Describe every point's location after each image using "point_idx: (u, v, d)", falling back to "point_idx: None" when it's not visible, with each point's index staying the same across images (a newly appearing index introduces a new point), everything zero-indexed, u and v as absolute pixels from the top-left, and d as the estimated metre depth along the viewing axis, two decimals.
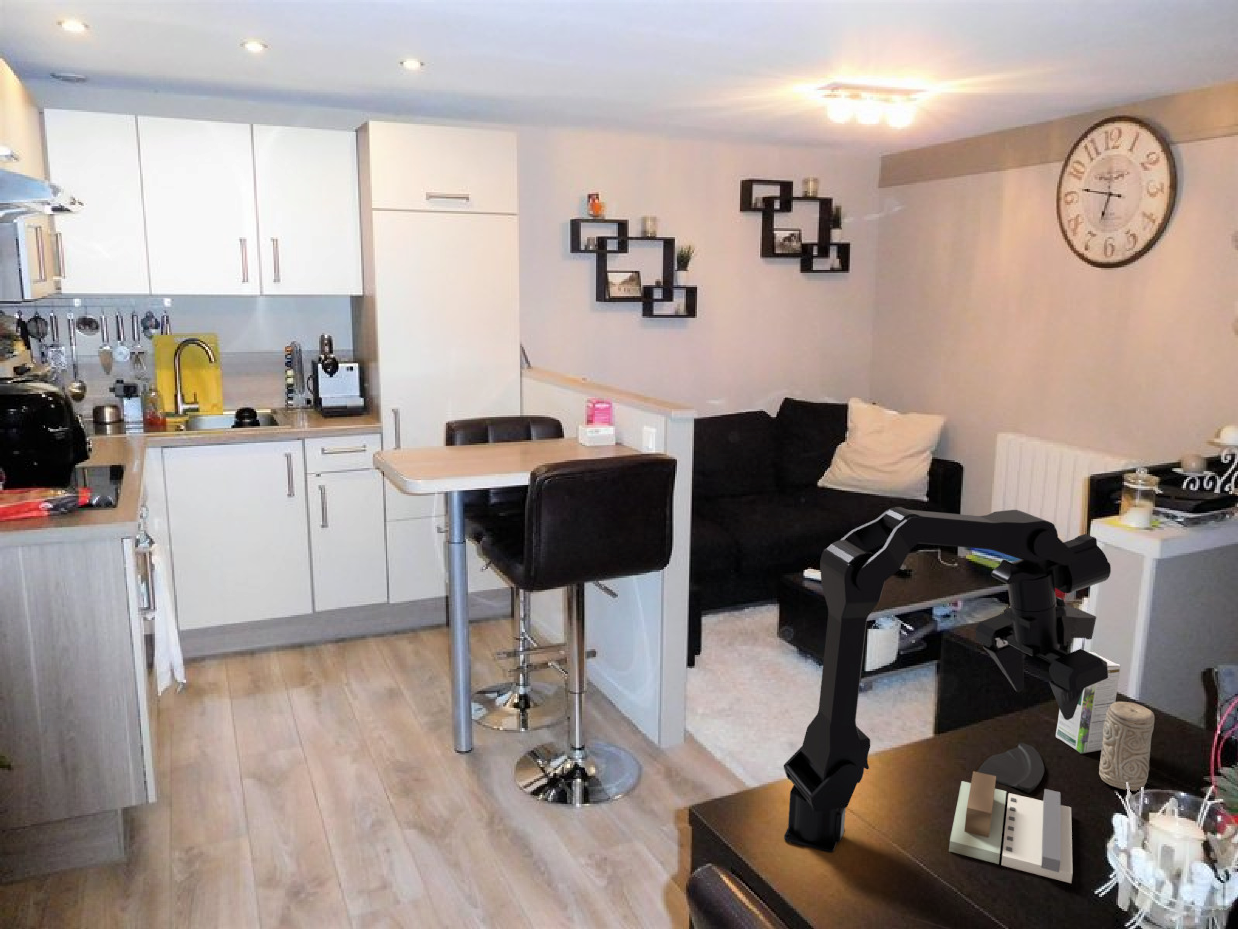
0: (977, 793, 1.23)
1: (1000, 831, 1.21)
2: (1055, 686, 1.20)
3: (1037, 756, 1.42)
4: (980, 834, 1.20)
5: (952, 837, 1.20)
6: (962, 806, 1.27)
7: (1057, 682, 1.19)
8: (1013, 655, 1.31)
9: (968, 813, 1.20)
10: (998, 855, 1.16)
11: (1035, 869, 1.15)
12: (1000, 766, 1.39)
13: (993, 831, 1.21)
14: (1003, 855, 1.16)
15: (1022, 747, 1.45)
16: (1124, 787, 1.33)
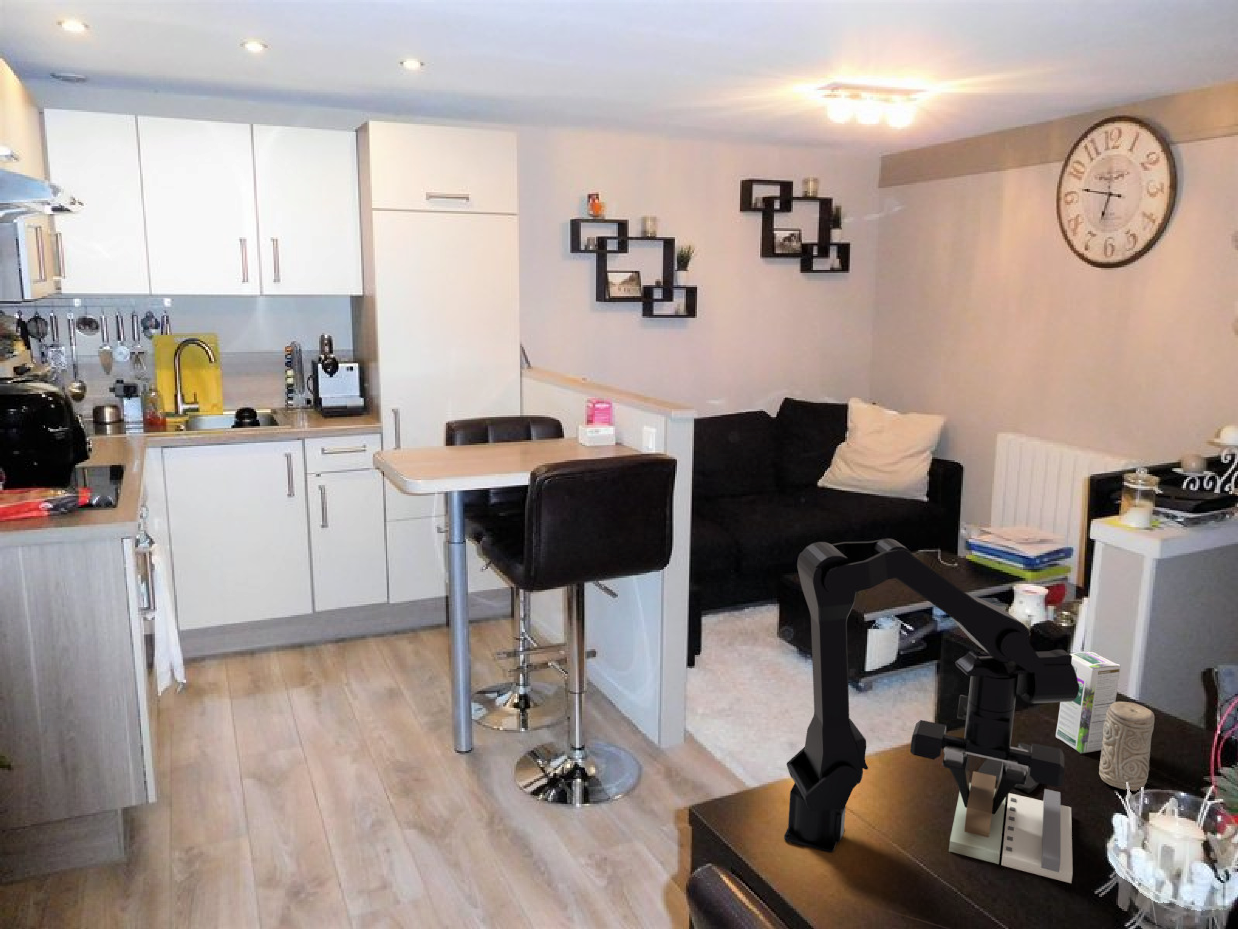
0: (977, 793, 1.23)
1: (1000, 831, 1.21)
2: (1009, 780, 1.19)
3: None
4: (980, 834, 1.20)
5: (952, 837, 1.20)
6: (962, 806, 1.27)
7: (1040, 781, 1.17)
8: (967, 769, 1.24)
9: (968, 813, 1.20)
10: (998, 855, 1.16)
11: (1035, 869, 1.15)
12: (1000, 766, 1.39)
13: (993, 831, 1.21)
14: (1003, 855, 1.16)
15: (1022, 747, 1.45)
16: (1124, 787, 1.33)
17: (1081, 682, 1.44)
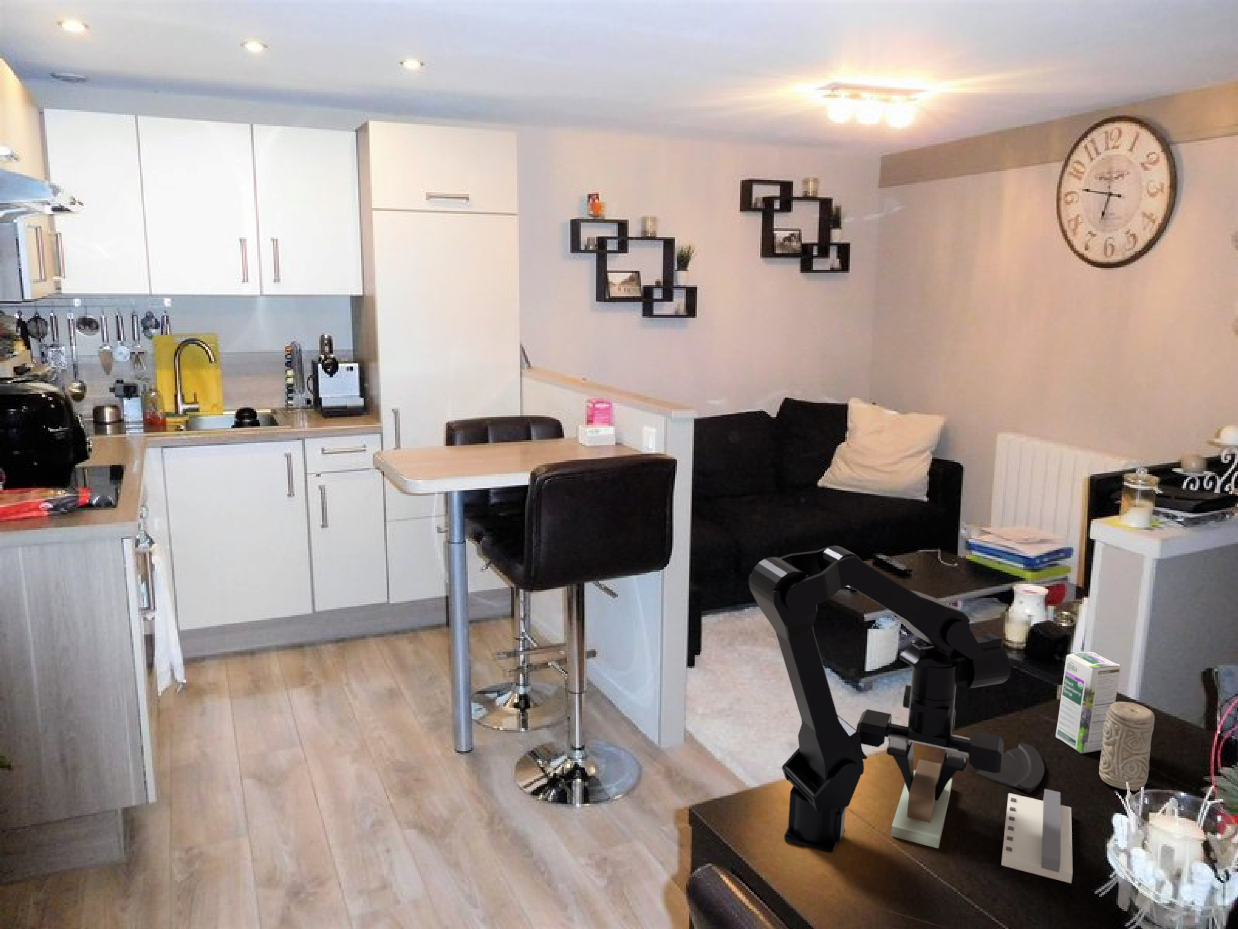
0: (920, 780, 1.26)
1: (942, 817, 1.24)
2: (950, 767, 1.22)
3: (1037, 756, 1.42)
4: (921, 819, 1.23)
5: (894, 822, 1.23)
6: (907, 793, 1.30)
7: (978, 767, 1.20)
8: (911, 756, 1.27)
9: (910, 799, 1.23)
10: (938, 839, 1.19)
11: (1035, 869, 1.15)
12: (1001, 767, 1.39)
13: (935, 816, 1.24)
14: (1003, 855, 1.16)
15: (1022, 747, 1.45)
16: (1124, 787, 1.33)
17: (1081, 682, 1.44)
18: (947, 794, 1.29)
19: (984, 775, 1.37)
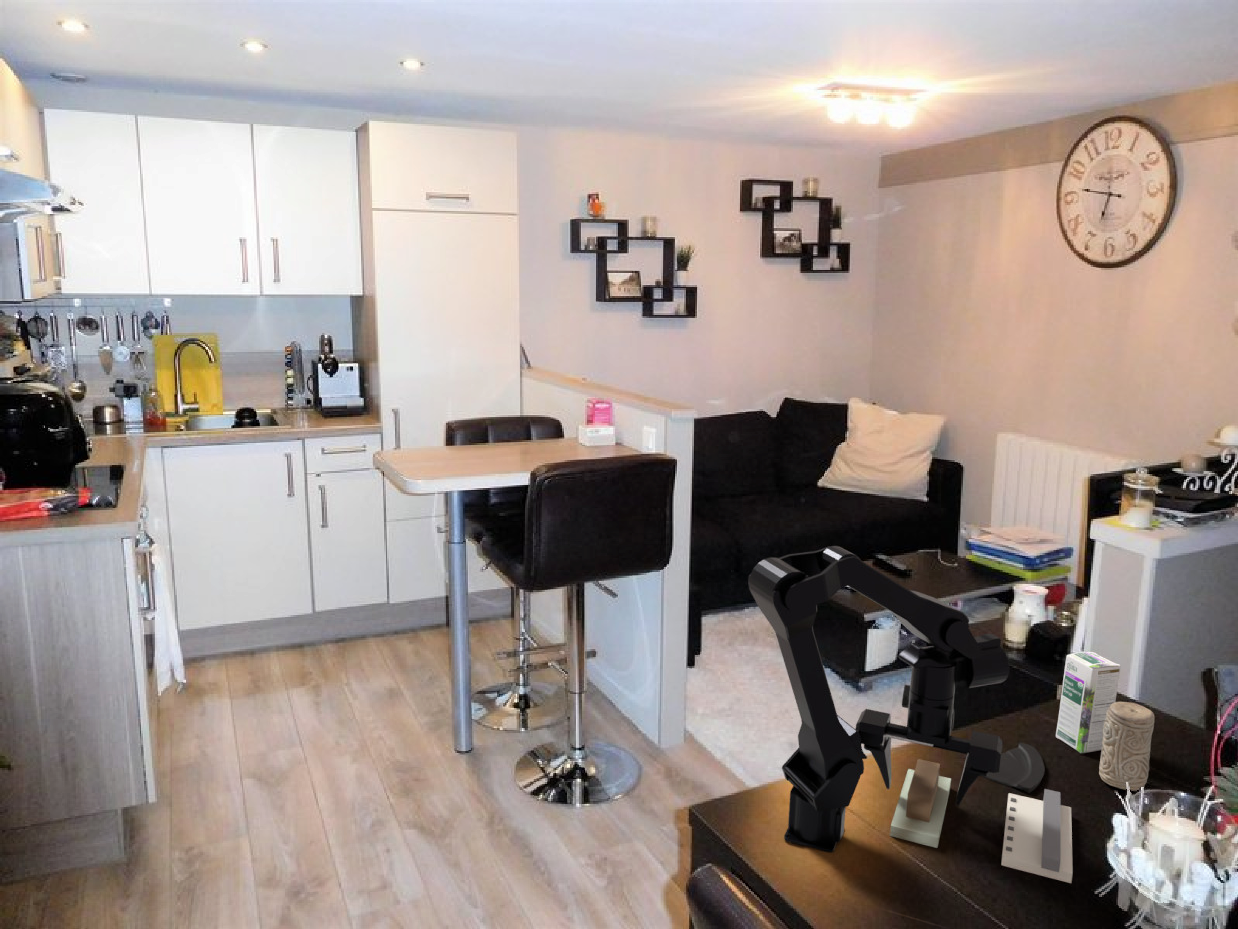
0: (919, 780, 1.26)
1: (941, 816, 1.24)
2: (972, 772, 1.21)
3: (1037, 756, 1.42)
4: (920, 819, 1.23)
5: (893, 822, 1.23)
6: (906, 793, 1.30)
7: (977, 767, 1.21)
8: (888, 751, 1.28)
9: (909, 798, 1.23)
10: (936, 839, 1.19)
11: (1035, 869, 1.15)
12: (1001, 767, 1.39)
13: (934, 816, 1.24)
14: (1003, 855, 1.16)
15: (1022, 747, 1.45)
16: (1124, 787, 1.33)
17: (1081, 681, 1.44)
18: (946, 794, 1.29)
19: None
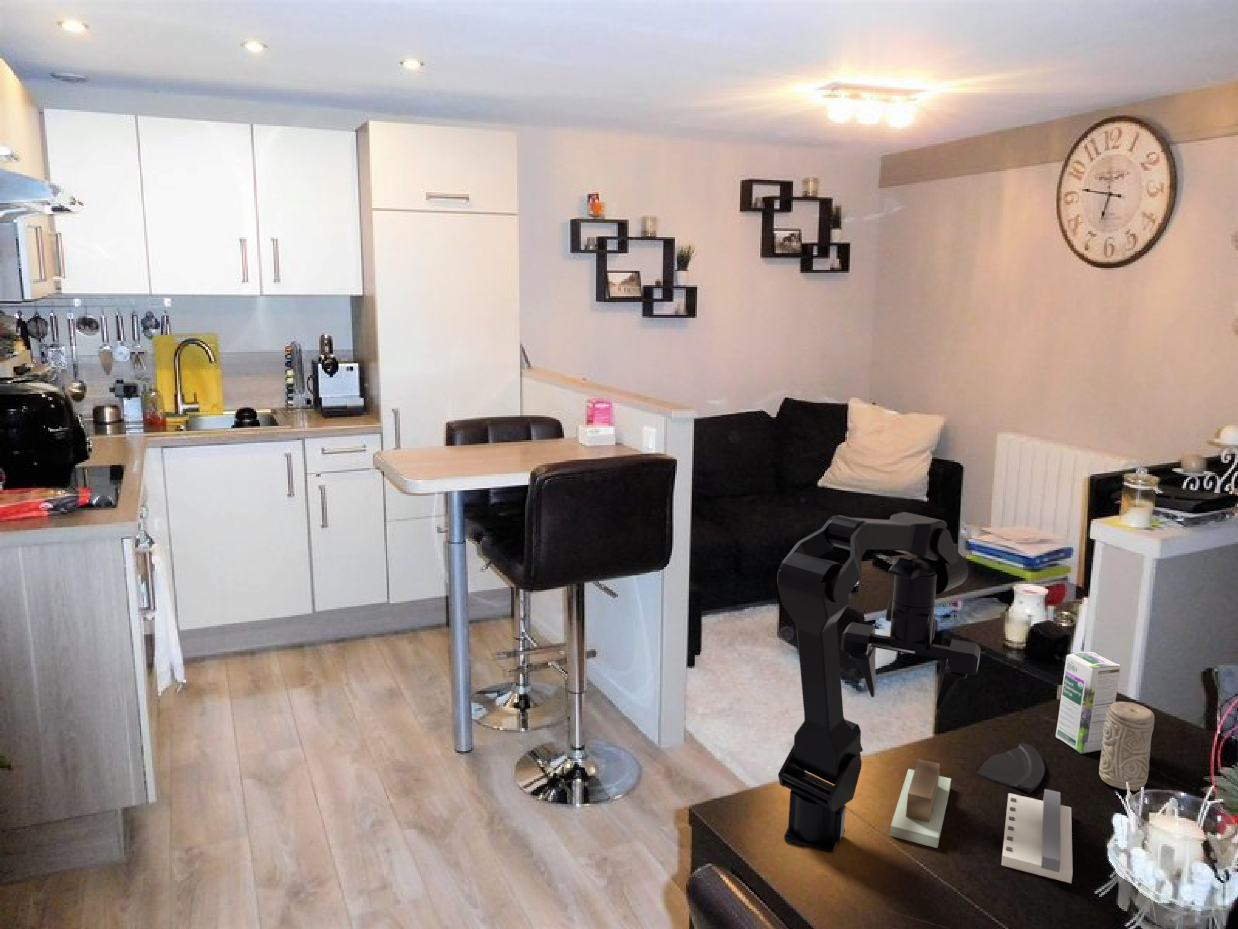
0: (919, 780, 1.26)
1: (941, 816, 1.24)
2: (951, 675, 1.28)
3: (1038, 756, 1.42)
4: (920, 819, 1.23)
5: (893, 822, 1.23)
6: (906, 793, 1.30)
7: (956, 670, 1.27)
8: (873, 661, 1.35)
9: (909, 798, 1.23)
10: (936, 839, 1.19)
11: (1035, 869, 1.15)
12: (1001, 767, 1.39)
13: (934, 816, 1.24)
14: (1003, 855, 1.16)
15: (1023, 747, 1.45)
16: (1124, 787, 1.33)
17: (1081, 682, 1.44)
18: (946, 794, 1.29)
19: (984, 775, 1.37)
